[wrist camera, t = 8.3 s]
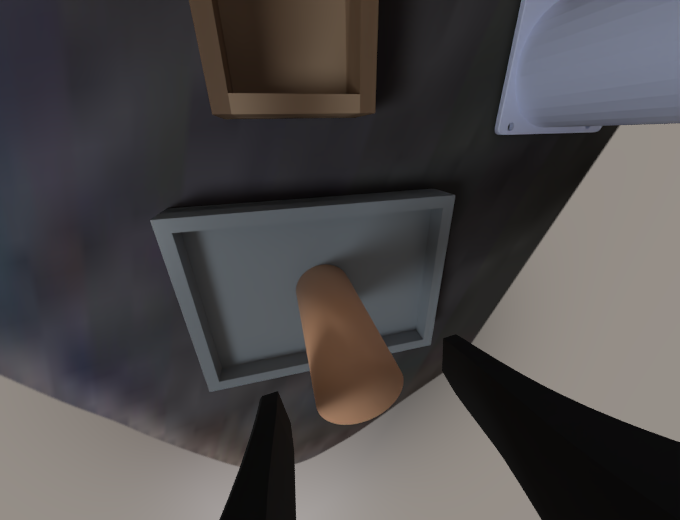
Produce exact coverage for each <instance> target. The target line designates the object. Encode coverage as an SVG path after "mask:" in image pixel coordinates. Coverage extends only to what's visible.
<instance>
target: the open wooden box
mask: <svg viewBox="0 0 680 520" xmlns="http://www.w3.org/2000/svg"><path fill="white" fill-rule="evenodd" d="M189 3H190V8H191V13H192V17H193V22H194V27H195V32H196V37H197V42H198V47H199V52H200V57H201V61H202V66H203V71H204V76H205V81H206V86H207V91H208V96H209V101H210V105H211V110H212V114H213V115H215V116H218V117H220V118H223V119H276V118H355V117H360V116H364V115H369V114H374V113H375V102H376V70H377V37H378V5H379V0H189Z"/></svg>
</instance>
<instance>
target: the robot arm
mask: <svg viewBox="0 0 680 520" xmlns="http://www.w3.org/2000/svg"><path fill="white" fill-rule="evenodd" d="M668 123H680V0H521V5H520V9H519V14H518V19H517V24H516V29H515V33H514V38H513V43H512V48H511V53H510V57H509V62H508V67H507V72H506V77H505V81H504V86H503V91H502V96H501V101H500V105H499V110H498V115H497V120H496V125H495V133H496V134H498V135H516V134H551V133H585V132H597V131H599V130H600V129H601V128H602V126H608V125H638V124H668ZM508 125H510V127H509V129H508ZM442 371H443V373H444V375H445V377H446V378H447V380H448V382H449V383H450V385H451V387H452V388H453V390H454V392H455V393H456V395H457V396H458V397H459V399H460V400H461V401H462V403H463V404H464V406H465V407H466V408H467V410H468V411H469V412H470V414H471V415H472V416H473V418H474V419H475V420H476V421H477V423H478V424H479V425H480V427H481V428H482V430H483V431H484V432H485V434H486V435H487V436H488V438H489V439H490V440H491V442H492V443H493V444H494V446H495V447H496V448H497V450H498V451H499V453H500V454H501V455H502V457H503V458H504V459H505V461H506V463H507V465H508V466H509V468H510V469H511V471H512V472H513V474H514V475H515V477H516V479H517V480H518V482H519V483H520V485H521V486H522V488H523V490H524V491H525V493H526V495H527V496H528V498H529V500H530V501H531V503H532V505H533V506H534V508H535V509H536V511H537V513H538V514H539V516H540V517H541V519H542V520H680V442H677V441H674V440H671V439H669V438H666V437H663V436H660V435H658V434H655V433H652V432H649V431H647V430H644V429H641V428H638V427H636V426H633V425H631V424H628V423H626V422H623V421H621V420H618V419H616V418H613V417H611V416H608V415H606V414H604V413H601V412H599V411H596V410H594V409H592V408H589V407H587V406H585V405H583V404H580V403H578V402H576V401H574V400H572V399H570V398H568V397H566V396H563V395H561V394H559V393H557V392H555V391H553V390H551V389H549V388H547V387H545V386H543V385H541V384H539V383H537V382H536V381H534V380H532V379H530V378H528V377H526V376H524V375H523V374H521V373H519V372H517V371H515V370H514V369H512V368H510V367H509V366H507V365H505V364H504V363H502V362H500V361H498V360H497V359H495V358H493V357H492V356H490V355H489V354H487V353H485V352H484V351H482V350H480V349H479V348H477V347H475V346H474V345H472V344H471V343H469V342H468V341H466V340H464V339H463V338H461V337H460V336H458V335H452V336H449V337H446V338H443V363H442ZM294 467H295V465H294V447H293V438H292V430H291V423H290V420H289V418H288V415H287V413H286V410H285V408H284V405H283V403H282V400H281V398H280V395H279V393H278V391H277V392H274V393H271V394H268V395H265V396H262V397H261V399H260V402H259V407H258V411H257V415H256V418H255V422H254V425H253V429H252V432H251V435H250V439H249V442H248V445H247V448H246V451H245V454H244V457H243V460H242V463H241V466H240V469H239V472H238V474H237V477H236V479H235V482H234V485H233V487H232V490H231V492H230V495H229V498H228V500H227V503H226V505H225V508H224V510H223V513H222V515H221V517H220V520H296V503H295V470H294V469H295V468H294Z"/></svg>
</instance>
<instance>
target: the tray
mask: <svg viewBox="0 0 680 520" xmlns="http://www.w3.org/2000/svg"><path fill="white" fill-rule="evenodd" d="M454 201H455V195H454V194H451V193H447V192H444V191H441V190H438V189H421V190H408V191H394V192H381V193H367V194H354V195H341V196H327V197H314V198H301V199H287V200H274V201H261V202H247V203H234V204H221V205H207V206H194V207H181V208H167V209H165V210H164V211H162V212H161V213H160V214H158V215H157V216H155V217H154V218H153V219H151V220H150V221H151V224H152V227H153V230H154V233H155V236H156V239H157V241H158V244H159V247H160V250H161V253H162V256H163V259H164V262H165V264H166V267H167V270H168V273H169V276H170V279H171V282H172V285H173V287H174V290H175V293H176V296H177V299H178V302H179V305H180V308H181V310H182V313H183V316H184V319H185V322H186V325H187V328H188V331H189V333H190V336H191V339H192V342H193V345H194V348H195V351H196V354H197V356H198V359H199V362H200V365H201V368H202V371H203V374H204V377H205V379H206V382H207V385H208V388H209V391H210V392H212V391H217V390H221V389H226V388H231V387H236V386H240V385H245V384H250V383H254V382H259V381H264V380H268V379H273V378H278V377H282V376H287V375H292V374H296V373H301V372H306V371H310V368H309V362H308V357H307V351H306V346H305V340H304V335H303V329H302V323H301V318H300V312H299V307H298V301H297V295H296V286H297V283H298V280H299V279H300V277H301V276H302V275H303V274H304V273H305V272H306V271H307V270H309V269H310V268H312V267H315V266H317V265H323V264H328V265H334V266H336V267H338V268H340V269H342V270H343V271H344V272H345V274H346V275H347V277H348V279H349V280H350V282H351V284H352V286H353V287H354V289H355V291H356V293H357V294H358V296H359V298H360V300H361V301H362V303H363V305H364V307H365V309H366V310H367V312H368V314H369V316H370V317H371V319H372V321H373V323H374V324H375V326H376V328H377V330H378V331H379V333H380V335H381V337H382V338H383V340H384V342H385V344H386V346H387V347H388V349H389V351H390V353H395V352H399V351H404V350H409V349H413V348H418V347H423V346H427V345H431V339H432V333H433V327H434V321H435V315H436V309H437V303H438V297H439V291H440V285H441V279H442V273H443V267H444V261H445V255H446V249H447V243H448V237H449V231H450V225H451V219H452V213H453V207H454Z"/></svg>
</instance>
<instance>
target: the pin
mask: <svg viewBox="0 0 680 520" xmlns="http://www.w3.org/2000/svg"><path fill="white" fill-rule="evenodd" d="M296 295H297V301H298V307H299V312H300V318H301V323H302V329H303V335H304V340H305V346H306V351H307V357H308V362H309V368H310V374H311V379H312V385H313V390H314V396H315V402H316V407H317V410H318V412H319V414H320V415H321V416H322V417H323V418H324V419H325V420H327V421H329V422H332V423H335V424H341V425H349V424H357V423H361V422H364V421H367V420H370V419H372V418H374V417H376V416H378V415H380V414H381V413H383V412H384V411H385V410H387V409H388V408H389V407H390V406H391V405H392V404H393V403H394V402H395V401H396V399H397V398H398V396H399V395H400V393H401V390H402V387H403V375H402V372H401V370H400V368H399V367H398V365H397V363H396V361H395V360H394V358H393V356H392V354H391V353H390V351H389V349H388V347H387V346H386V344H385V342H384V340H383V338H382V337H381V335H380V333H379V331H378V330H377V328H376V326H375V324H374V323H373V321H372V319H371V317H370V316H369V314H368V312H367V310H366V309H365V307H364V305H363V303H362V301H361V300H360V298H359V296H358V294H357V293H356V291H355V289H354V287H353V286H352V284H351V282H350V280H349V279H348V277H347V275H346V274H345V272H344V271H343V270H342V269H340V268H338V267H336V266H334V265H328V264H323V265H317V266H315V267H312V268H310V269H309V270H307V271H306V272H305V273H304V274H303V275H302V276H301V277H300V279H299V280H298V283H297V286H296Z"/></svg>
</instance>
